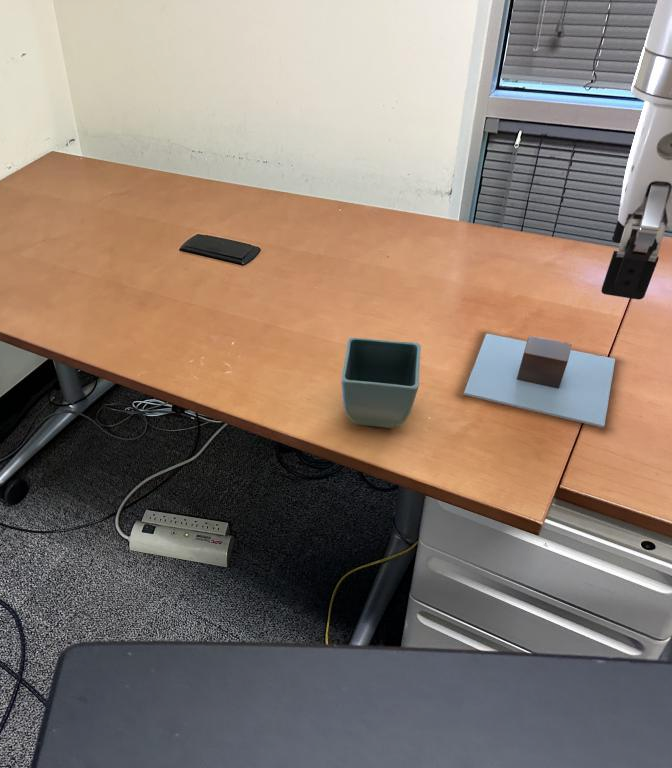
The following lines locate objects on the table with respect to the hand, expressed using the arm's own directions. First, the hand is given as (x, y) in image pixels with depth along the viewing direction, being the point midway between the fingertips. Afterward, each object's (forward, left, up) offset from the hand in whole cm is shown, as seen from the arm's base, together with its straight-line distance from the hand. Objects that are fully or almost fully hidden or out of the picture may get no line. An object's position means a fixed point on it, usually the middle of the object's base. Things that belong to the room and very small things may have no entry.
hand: (626, 267), depth 63 cm
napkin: (+4, -15, -26) cm, 30 cm away
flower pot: (+21, 0, -26) cm, 34 cm away
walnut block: (+4, -15, -26) cm, 30 cm away
